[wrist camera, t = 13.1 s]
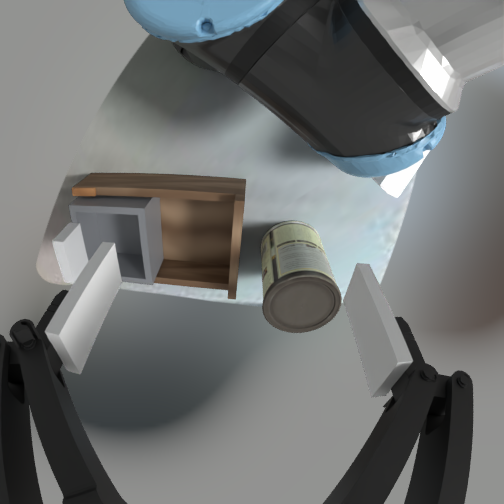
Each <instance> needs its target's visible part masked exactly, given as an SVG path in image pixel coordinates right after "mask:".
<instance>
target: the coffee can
mask: <svg viewBox="0 0 504 504" xmlns="http://www.w3.org/2000/svg"><path fill="white" fill-rule="evenodd" d="M261 261H262V282H263V306H262V309H263V314H264V316H265V318H266V320H267V321H268V322H269V323H270V324H271V325H272V326H273V327H275V328H277V329H279V330H282V331H286V332H291V333H302V332H308V331H312V330H315V329H318V328H320V327H322V326H324V325H325V324H327V323H328V322H330V321H331V320H332V319H333V318H334V317H335V316H336V314H337V312H338V311H339V309H340V306H341V293H340V290H339V288H338V286H337V284H336V281H335V279H334V276H333V273H332V270H331V267H330V265H329V262H328V259H327V256H326V254H325V251H324V248H323V246H322V243H321V239H320V236H319V234H318V233H317V231H316V230H315V229H314V228H313V227H311V226H310V225H308V224H306V223H303V222H300V221H287V222H282V223H280V224H277V225H275V226H274V227H272V228H271V229H270V230H269V231H268V232H267V233H266V234H265V235H264V237H263V239H262V242H261Z"/></svg>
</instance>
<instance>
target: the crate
mask: <svg viewBox="0 0 504 504" xmlns="http://www.w3.org/2000/svg"><path fill="white" fill-rule="evenodd" d="M69 211H70V216H71V221H72V223H68V225H67V226H66V227H65V228H64V229H63V230H62V231H61V232H60V233H59V234H58V235H57V236H56V237H55V238H54V239H53V241H52V243H53V246H54V250H55V253H56V257H57V260H58V263H59V267H60V270H61V273H62V276H63V279H64V282H66V283H72V284H74V282H75V281H76V279H77V278H78V276H79V275H80V273H81V272H82V270H83V269H84V267H85V266H86V265H87V263H88V262H89V260H90V259H91V257H92V256H93V255H94V253H95V252H96V250H97V249H98V248H99V246H100V245H101V243H102V242H110V243H115V248H116V253H117V259H118V264H119V269H120V274H121V279H122V282H130V283H139V284H147V285H153V283H154V281H155V278H156V276H157V273H158V271H159V269H160V266H161V264H162V261H163V259H164V256H163V243H162V229H161V212H160V198H158V197H136V196H108V195H96V196H78V197H77V198H76V199H75V200H74V201H73V202H72V203H71V204H69Z"/></svg>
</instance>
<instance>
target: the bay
mask: <svg viewBox="0 0 504 504" xmlns="http://www.w3.org/2000/svg"><path fill="white" fill-rule="evenodd" d="M245 188H246V179H236V178H224V177H210V176H193V175H174V174H145V173H91V174H89V175H88V176H87V177H86V178H84V179H83V180H82V181H80V182H79V183H78V184H76V185H75V186H74V187H73V188H72V194H73V196H96V195H108V196H136V197H158V198H160V212H161V229H162V243H163V256H164V259H163V261H162V264H161V266H160V269H159V271H158V273H157V276H156V278H155V281H154V283H160V284H170V285H180V286H190V287H200V288H211V289H222V290H228V299H236V290H237V278H238V267H239V256H240V245H241V234H242V224H243V213H244V203H245Z"/></svg>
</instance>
